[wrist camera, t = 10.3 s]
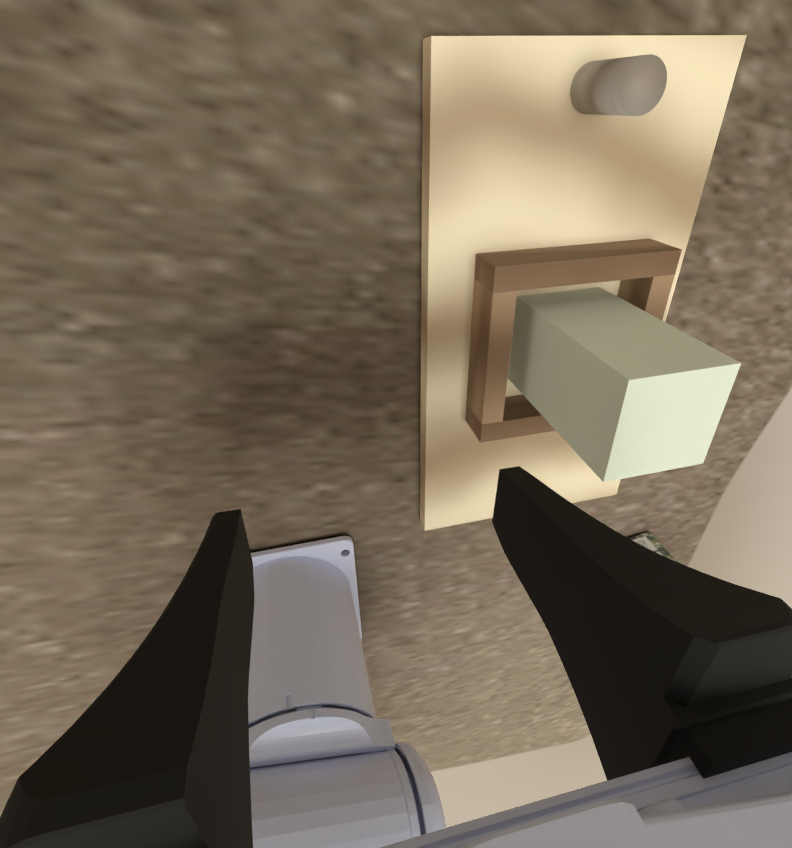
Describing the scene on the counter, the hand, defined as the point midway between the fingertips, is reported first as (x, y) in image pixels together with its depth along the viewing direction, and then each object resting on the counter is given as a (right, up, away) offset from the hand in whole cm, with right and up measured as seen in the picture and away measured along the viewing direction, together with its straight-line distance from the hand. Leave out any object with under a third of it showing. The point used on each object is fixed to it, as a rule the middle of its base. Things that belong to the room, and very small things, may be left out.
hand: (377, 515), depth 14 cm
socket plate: (+7, +7, +10) cm, 15 cm away
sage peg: (+8, +7, +9) cm, 14 cm away
